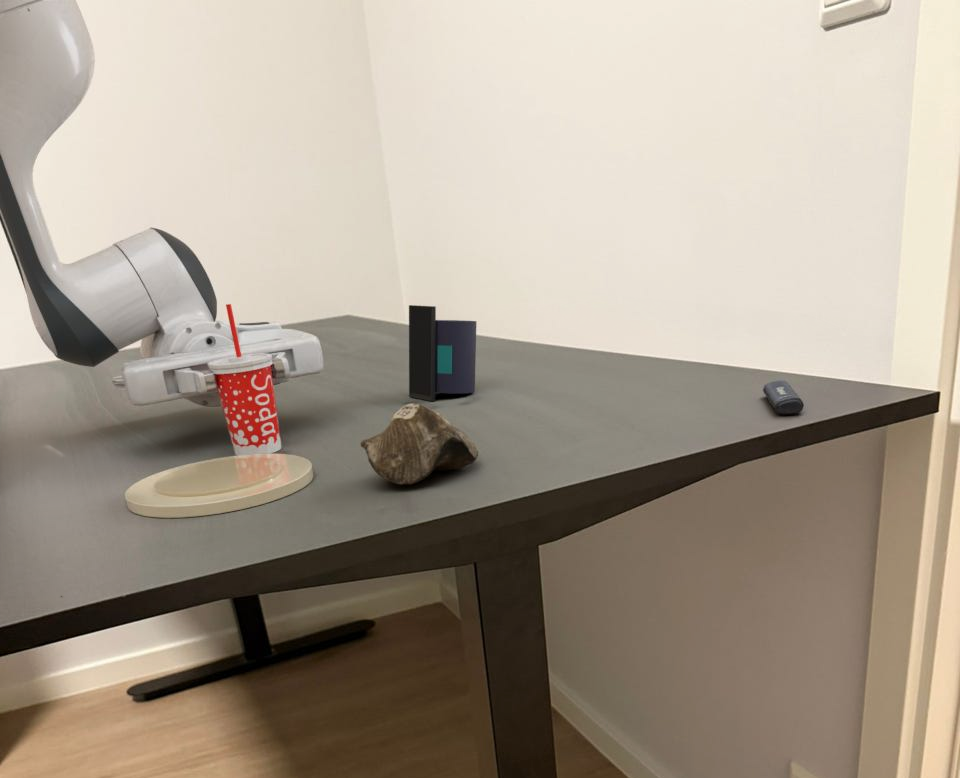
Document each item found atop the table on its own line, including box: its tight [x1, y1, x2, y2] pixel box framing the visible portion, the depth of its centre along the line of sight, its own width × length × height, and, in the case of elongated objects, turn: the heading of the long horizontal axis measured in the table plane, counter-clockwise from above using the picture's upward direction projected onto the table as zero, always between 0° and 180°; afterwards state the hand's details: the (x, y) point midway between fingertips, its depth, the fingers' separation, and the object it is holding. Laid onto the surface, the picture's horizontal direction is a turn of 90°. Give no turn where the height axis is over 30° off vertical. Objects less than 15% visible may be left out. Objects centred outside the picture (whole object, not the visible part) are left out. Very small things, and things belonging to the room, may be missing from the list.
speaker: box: [408, 304, 477, 402], centre depth 110 cm, size 8×6×10 cm
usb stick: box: [762, 379, 805, 416], centre depth 90 cm, size 10×3×2 cm, turn 172°
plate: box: [124, 453, 314, 519], centre depth 83 cm, size 16×16×1 cm
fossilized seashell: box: [360, 403, 479, 485], centre depth 79 cm, size 8×7×10 cm
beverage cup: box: [208, 303, 282, 456], centre depth 93 cm, size 6×6×14 cm
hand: (246, 375), depth 92 cm, fingers closed on beverage cup, 6 cm apart
